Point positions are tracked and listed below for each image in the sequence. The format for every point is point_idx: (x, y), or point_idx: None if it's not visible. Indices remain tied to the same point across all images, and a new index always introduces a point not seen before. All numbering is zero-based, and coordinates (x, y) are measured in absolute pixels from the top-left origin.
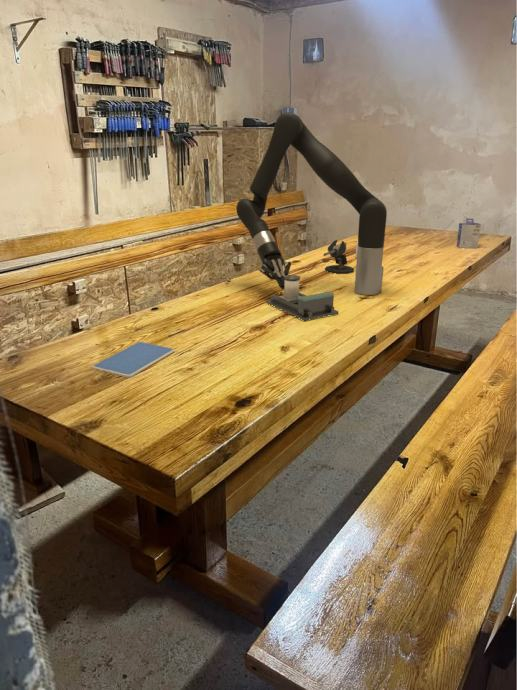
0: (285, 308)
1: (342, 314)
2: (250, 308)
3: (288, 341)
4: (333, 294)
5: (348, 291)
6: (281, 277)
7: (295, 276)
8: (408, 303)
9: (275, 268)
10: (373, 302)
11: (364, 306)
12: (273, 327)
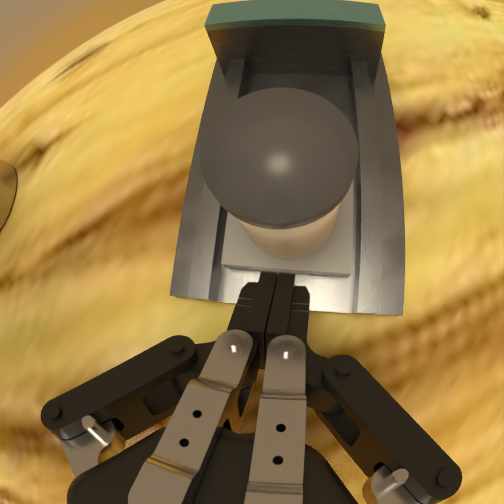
0: (388, 149)
1: None
2: (493, 288)
3: (468, 19)
4: (214, 5)
5: (8, 239)
6: (272, 332)
7: (241, 139)
8: (34, 84)
9: (301, 420)
10: (58, 110)
11: (101, 86)
12: (483, 79)
